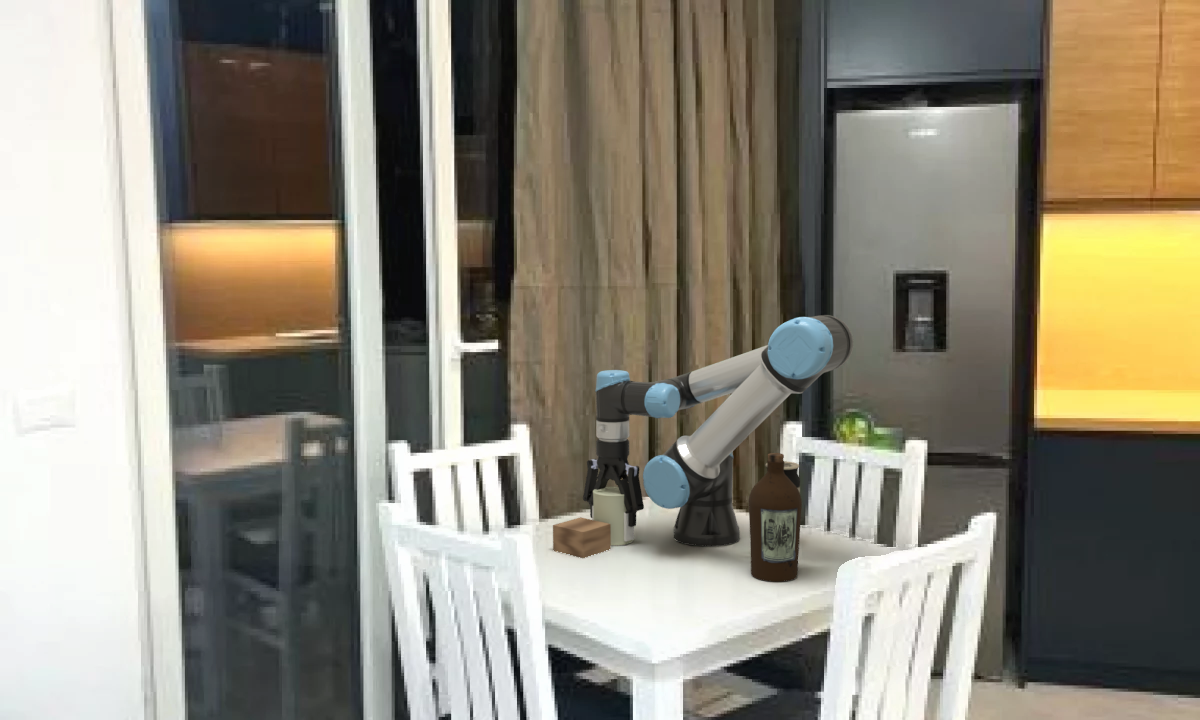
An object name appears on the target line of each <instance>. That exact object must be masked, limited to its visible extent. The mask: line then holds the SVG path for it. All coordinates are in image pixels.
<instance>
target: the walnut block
mask: <svg viewBox="0 0 1200 720" xmlns="http://www.w3.org/2000/svg"><path fill="white" fill-rule="evenodd" d="M611 547H612V546H611V524H608V523H604V522H599V521H595V520H592V519H591V518H585V517H581V516H579V517H578V518H574V519H570V520H566V521H562V522H559V523H556V524H553V525H552V551H553V550H554V551H553V552H556V551H558V552H557V553H560V552H562V553H561V554H563V553H566V554H565V555H567V554H570V555H569V556H571V555H573V556H572V557H575V556H576V557H575V558H579V557H580V559H586V558H589V557H588V556H590V557H592V556H591V555H593V556H594V554H596V555H598V553H599V554H602V553H604V551H605V552H607V551H606V550H608V551H610V550H609V549H611ZM601 552H602V553H601ZM585 557H586V558H585Z"/></svg>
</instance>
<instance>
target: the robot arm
mask: <svg viewBox="0 0 1200 720" xmlns="http://www.w3.org/2000/svg"><path fill="white" fill-rule="evenodd" d="M853 336H854V335H853V333H852V331H851V329H850V327H849V326H848V324H846V322H845V321H843V320H842V319H840V318H839V317H836V316H833V315H830V314H822V315H819V314H818V315H815V316H799V317H794V318H792V319H789V320H788V321H785V322H784V323H782V324H780V325H779V326H778V327H776V328H775V329H774V331H773V332H772V334H771V335H770V337H769V340H768V343H767V345H764V346H761V347H759V348H755V349H753V350H750V351H747V352H744V353H742V354H738V355H736V356H732V357H730V358H726V359H725V360H721V361H717V362H716V363H713V364H709V365H707V366H703V367H701V368H698V369H695V370H693V371H689V372H687V373H683V374H680V375H678V376H677V375H676V376H675V377H674V376H673V377H671V378H665V379H661V380H656V381H651V382H650V381H647V382H646V381H633V380H631V378H630V373H629V372H628V371H627V370H620V369H610V370H609V369H608V370H607V369H606V370H601V371H599V372H598V373H597V374H596V385H595V391H594V392H595V397H596V398H595V402H596V403H595V405H596V418H595V419H596V420H595V423H596V424H595V426H596V429H595V430H596V433H595V434H596V437H597V438H598V439H596V441H595V448H596V449H595V452H596V453H595V455H596V456H597V458H594V459H589V460H587V461H586V466H587V467H586V469H587V472H586V479H585V485H584V490H583V496H582V499H583V501H584V502H587V503H588V504H589V513H590V514H589V515H590V519H591V520H594V508H593V490H594V489H596V490H599V489H604V488H605V487H607V485H608V482H609V480H611V481H613V482H614V483H615V485H616V486H617V487H618V488H619V491H620V493H621V494H622V495H623V494H624V505H625V507H626V510H627V511H626V512H624V541H626V542H627V541H630V540H633V541H634V540H635V527H636V525H637V513H638V512H639V511H642V510H644V509H645V506H644V500H643V494H642V488H641V482H640V477H639V475H640V466H638V465H634V466H633V465H630V463H629V460H628V459H629V455H630V440H629V439H628V438H629V437H630V416H632V415H633V416H641V417H649V418H650V417H651V418H655V419H661V418H662V419H663V418H664V419H671V418H673V417H674V416H675V415H676V413H678V411H681V410H685V409H686V410H687V409H690V408H693V407H695V406H697V405H699V404H702V403H706V402H709V401H712V400H715V399H718V398H721V397H723V396H726V395H729V394H730V395H729V396H728V397H727V398H726V399H725V400H724V401H723V402H722V403H721V405H719V406H718V407H717V408H716V410H715V411H713V413H712V414H711V415H709V417H707V419H706V420H704V422H703V423H701V425H700V426H699V427H698V428H697V429H696V430H694V432H693V433H692V434H691V435H682V436H680V437H678V438H677V440H675V442H674V443H673V444H672V445H670V446H669V448H667V450H666V451H664V453H663V454H661V455H660V454H659V455H655V456H654V457H653V458H651V459H650V460H649V461H648V462H647V463H646V464H645V466H644V470H643V472H642V479H643V488H644V490H645V492H646V494H647V496H648V497H649V499H650V500H651V501H652V502H653V503H654V504H655V505H657V506H659V507H660V508H662V509H667V510H669V509H670V510H673V509H678V508H679V510H678V513H677V516H676V519H675V523H674V526H673V539H674V540H675V541H677V542H678V543H682V544H684V545H689V546H697V547H721V546H728V545H732V544H735V543H737V542H738V541H740V539H741V538H740V532H741V531H740V526H739V525H738V519H737V516H736V513H735V510H734V507H733V478H734V477H733V475H734V473H733V472H734V471H733V470H734V469H733V467H734V466H733V465H734V455H733V451H735V450H736V448H738V447H739V446H740V445H741V444H742V443H743V441H745V440H746V439H747V438H748V437H749V435H751V434H752V433H753V432H754V431H755V430H756V429H757V428H758V427H759V426H760V425H761V424H762V423H763V422H764V421H765V420H766V419H767V418H768V417H769V416H771V414H772V413H773V412H774V411H775V410H776V409H777V408H778V407H779V406H780V405H781V404H782V403H783V402H784V401H785V400H786V399H787V398H788V397H789V396H790V395H791V394H803V393H804V392H805V391H806V390H808V388H809V387H811V385H813V383H815V381H817V380H818V379H819V377H820V376H822V375H823V374H824V373H828V372H831V371H834V370H836V369H839V368H841V366H843V365H844V364H845V363H846V362H847V361H848V360H849V359H850V357H851V355H852V352H853V349H854V338H853Z"/></svg>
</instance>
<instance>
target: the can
mask: <svg viewBox="0 0 1200 720" xmlns="http://www.w3.org/2000/svg"><path fill="white" fill-rule="evenodd" d="M593 508H594V520H595V521H599V522H604V523H608V524H611V547H612V546H615V547H616V546H617V547H618V546H625V545H629V544H631V543H633V542H634V539H633V540H630V541H627V542H626V541H624V512H626V511H627V510H626V507H625V505H624V494H623V495H622V494H621V493H620V491H619V488H618V486H606V487H605V488H604V489H599V490H596V489H594V490H593Z"/></svg>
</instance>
